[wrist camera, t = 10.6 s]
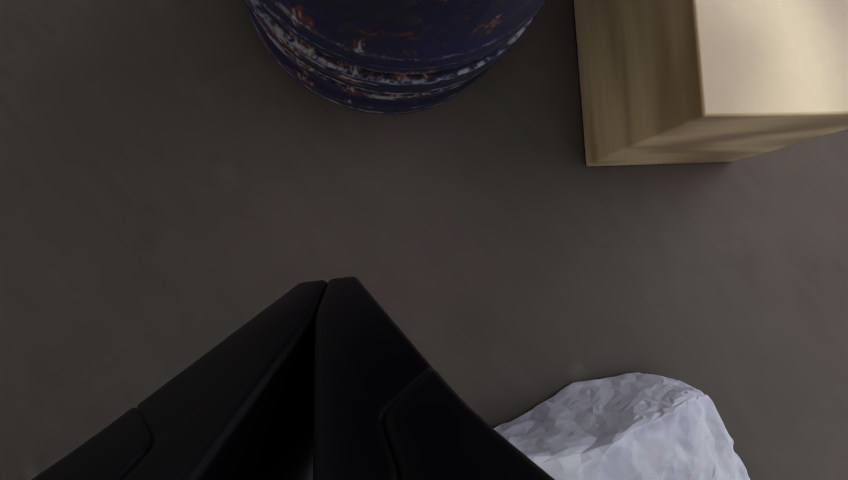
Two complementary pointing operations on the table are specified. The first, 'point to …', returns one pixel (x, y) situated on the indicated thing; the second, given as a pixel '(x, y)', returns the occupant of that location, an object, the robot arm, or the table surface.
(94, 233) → the table surface
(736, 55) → the birch block
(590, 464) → the stone block
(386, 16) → the blue barrel
